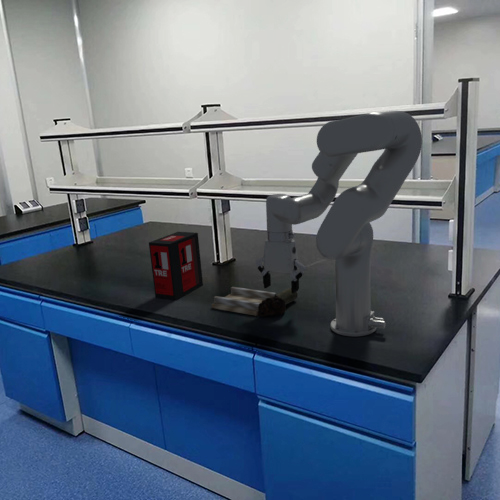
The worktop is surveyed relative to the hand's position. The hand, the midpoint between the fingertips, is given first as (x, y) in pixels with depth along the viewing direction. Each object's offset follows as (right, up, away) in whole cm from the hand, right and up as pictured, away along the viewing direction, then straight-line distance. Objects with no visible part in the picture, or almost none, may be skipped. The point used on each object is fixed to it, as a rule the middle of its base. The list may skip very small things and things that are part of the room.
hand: (280, 289), depth 156 cm
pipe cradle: (-11, -5, +9) cm, 15 cm away
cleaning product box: (-35, -3, +26) cm, 44 cm away
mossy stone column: (0, -7, +2) cm, 7 cm away
